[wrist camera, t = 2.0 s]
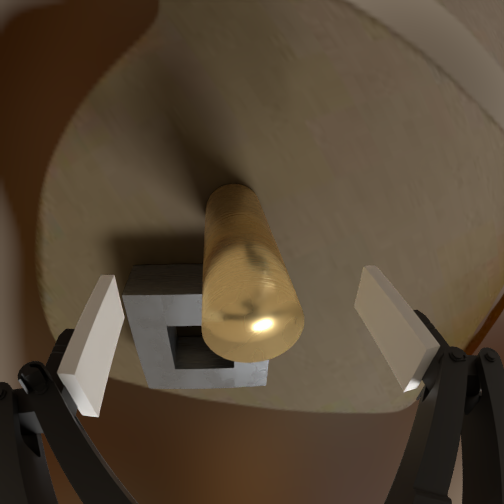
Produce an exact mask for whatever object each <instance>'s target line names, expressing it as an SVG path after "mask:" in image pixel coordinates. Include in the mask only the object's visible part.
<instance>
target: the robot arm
mask: <svg viewBox="0 0 504 504" xmlns="http://www.w3.org/2000/svg"><path fill="white" fill-rule="evenodd" d="M354 307H355V309H356V310H357V312H358V314H359V315H360V317H361V319H362V320H363V322H364V324H365V325H366V327H367V329H368V330H369V332H370V334H371V335H372V337H373V339H374V340H375V342H376V344H377V345H378V347H379V349H380V351H381V352H382V354H383V356H384V357H385V359H386V361H387V363H388V364H389V366H390V368H391V370H392V371H393V373H394V375H395V377H396V379H397V380H398V382H399V384H400V386H401V388H402V389H403V391H404V392H405V391H408V390H412V389H415V388H417V387H418V385H419V383H420V382H421V380H423V382H424V384H425V386H424V387H423V389H422V391H421V392H420V394H419V395H418V397H417V399H416V400H419V398H420V402H419V405H418V409H417V413H416V417H415V420H414V423H413V427H412V430H411V433H410V437H409V440H408V443H407V446H406V449H405V452H404V455H403V458H402V460H401V463H400V466H399V468H398V471H397V474H396V476H395V479H394V481H393V484H392V486H391V489H390V491H389V493H388V496H387V498H386V500H385V503H384V504H452V501H451V499H450V498H449V497H448V496H447V494H448V490H449V486H450V482H451V478H452V474H453V470H454V465H455V461H456V456H457V452H458V447H459V441H460V435H461V442H462V462H463V463H462V466H463V494H462V504H504V368H503V365H502V362H501V359H500V356H499V355H498V353H497V352H496V351H495V350H493V349H491V348H482V349H481V350H480V352H479V354H478V355H477V356H474V355H466V353H465V352H464V351H463V350H462V349H460V348H458V347H453V346H452V347H450V346H449V345H448V344H447V342H446V341H445V340H444V338H443V337H442V336H441V335H440V333H439V332H438V331H437V329H435V327H434V326H433V324H432V323H430V321H429V319H428V318H427V317H426V316H425V315H424V314H423V313H421V312H420V311H418V310H412V308H411V307H410V306H409V305H408V303H407V302H406V301H405V300H404V298H403V297H402V296H401V295H400V294H399V292H398V291H397V290H396V289H395V287H394V286H393V285H392V284H391V283H390V282H389V280H388V279H387V278H386V277H385V276H384V274H383V273H382V272H381V271H380V270H379V269H378V267H377V266H376V265H370V266H364V267H363V272H362V276H361V280H360V284H359V288H358V292H357V296H356V300H355V304H354ZM124 318H125V317H124V313H123V309H122V305H121V301H120V297H119V293H118V288H117V284H116V279H115V275H101V276H100V278H99V280H98V282H97V284H96V286H95V288H94V290H93V292H92V294H91V296H90V298H89V300H88V302H87V304H86V306H85V308H84V311H83V313H82V315H81V317H80V319H79V321H78V324H77V326H76V328H75V329H65V330H64V331H63V332H62V333H61V334H60V335H59V337H58V339H57V341H56V343H55V346H54V348H53V350H52V353H51V354H50V357H49V359H48V362H47V363H46V366H45V365H44V364H43V363H41V362H39V361H32V362H29V363H27V364H25V365H24V366H23V367H22V368H21V369H20V370H19V373H18V381H19V382H20V384H21V385H22V387H23V388H21V389H15V390H13V389H12V388H11V387H10V385H9V384H8V383H5V382H0V504H58V501H57V498H56V495H55V492H54V489H53V485H52V481H51V477H50V474H49V470H48V466H47V462H46V457H45V453H44V448H43V443H42V438H41V433H44V434H45V436H46V438H47V441H48V443H49V445H50V447H51V449H52V451H53V452H54V454H55V456H56V458H57V460H58V462H59V464H60V466H61V468H62V469H63V471H64V473H65V475H66V476H67V478H68V480H69V482H70V483H71V485H72V486H73V488H74V490H75V491H76V493H77V494H78V496H79V497H80V499H81V501H82V502H83V504H138V503H137V502H136V500H135V499H134V498H133V497H132V496H131V494H130V493H129V492H128V491H127V489H126V488H125V487H124V486H123V484H122V483H121V482H120V481H119V479H118V478H117V477H116V475H115V474H114V473H113V471H112V470H111V469H110V467H109V466H108V464H107V463H106V462H105V460H104V459H103V457H102V456H101V454H100V453H99V452H98V450H97V449H96V447H95V446H94V444H93V443H92V441H91V440H90V438H89V436H88V435H87V433H86V431H85V430H84V428H83V427H82V425H81V424H80V422H79V420H78V418H77V417H76V411H77V408H78V409H79V411H80V412H81V414H82V415H85V416H93V417H99V412H100V408H101V403H102V399H103V394H104V391H105V386H106V382H107V378H108V375H109V371H110V367H111V363H112V359H113V356H114V352H115V348H116V345H117V341H118V338H119V334H120V331H121V328H122V324H123V321H124ZM481 390H482V393H481Z"/></svg>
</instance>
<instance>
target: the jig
mask: <svg viewBox="0 0 504 504" xmlns="http://www.w3.org/2000/svg"><path fill="white" fill-rule="evenodd" d="M202 287H203V264H181V265H137V266H133V268H132V270H131V273H130V275H129V278H128V281H127V283H126V286H125V288H124V291H123V294H122V297H123V302H124V306H125V309H126V313H127V317H128V321H129V325H130V328H131V332H132V335H133V339H134V342H135V346H136V349H137V352H138V356H139V359H140V362H141V365H142V368H143V371H144V374H145V377H146V380H147V383H148V386H149V388H159V389H206V388H233V387H250V386H263V385H266V380H267V371H268V362H269V360H265V361H261V362H253V363H242V362H235V361H231V360H228V359H225V358H223V357H221V356H219V355H217V354H216V353H214V352H213V351H212V350H211V349H210V348H209V347H208V346H207V344H206V343H205V341H204V339H203V337H178V334H177V328H176V326H202Z"/></svg>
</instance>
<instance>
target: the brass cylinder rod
mask: <svg viewBox="0 0 504 504" xmlns="http://www.w3.org/2000/svg"><path fill="white" fill-rule="evenodd" d="M303 327H304V314H303V311H302V308H301V305H300V303H299V300H298V298H297V295H296V293H295V290H294V287H293V285H292V282H291V280H290V277H289V275H288V272H287V269H286V267H285V264H284V262H283V259H282V257H281V254H280V252H279V249H278V247H277V244H276V242H275V239H274V237H273V234H272V232H271V229H270V227H269V224H268V222H267V219H266V217H265V215H264V212H263V210H262V207H261V205H260V202H259V200H258V198H257V196H256V194H255V193H254V192H253V191H252V190H251V189H249V188H248V187H246V186H243V185H240V184H227V185H224V186H222V187H219V188H218V189H216V190H215V191H214V192H213V193H212V194H211V196H210V197H209V199H208V201H207V205H206V218H205V237H204V259H203V287H202V336H203V339H204V341H205V343H206V344H207V346H208V347H209V348H210V349H211V350H212V351H213V352H214V353H216V354H217V355H219V356H221V357H223V358H225V359H228V360H231V361H235V362H242V363H253V362H261V361H265V360H269V359H272V358H274V357H276V356H278V355H280V354H282V353H284V352H285V351H287V350H288V349H289V348H290V347H291V346H293V345H294V344H295V342H296V341H297V340H298V338H299V337H300V335H301V333H302V330H303Z"/></svg>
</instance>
